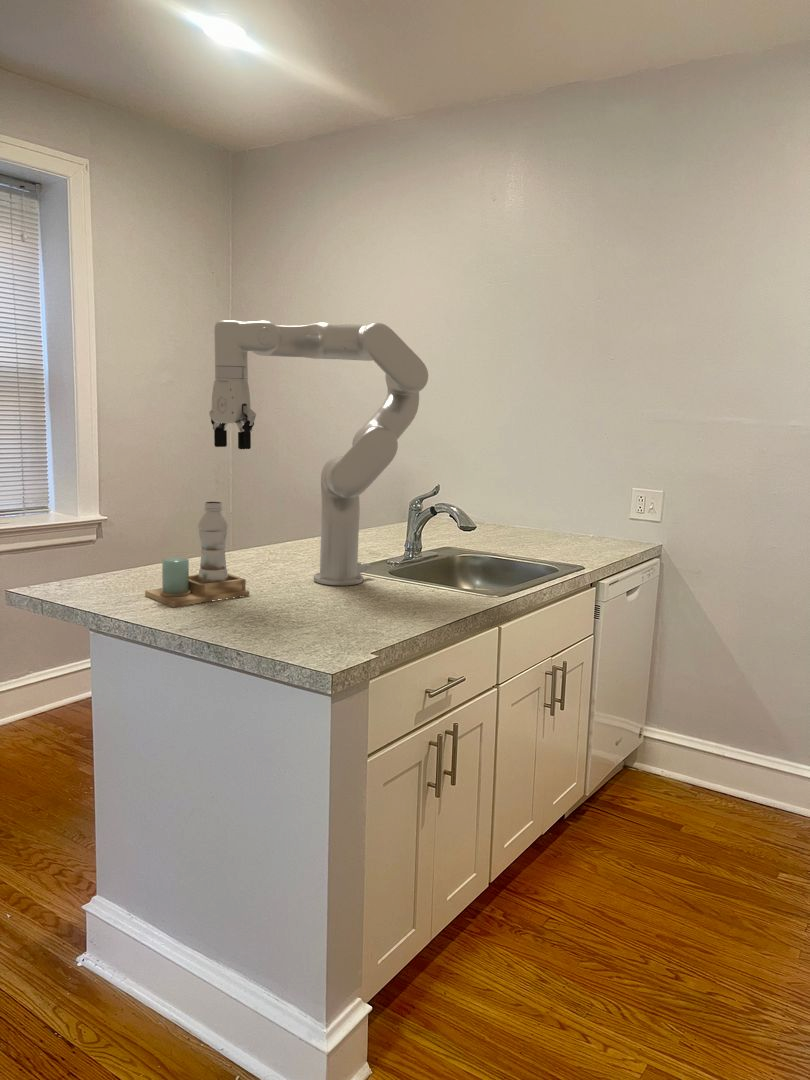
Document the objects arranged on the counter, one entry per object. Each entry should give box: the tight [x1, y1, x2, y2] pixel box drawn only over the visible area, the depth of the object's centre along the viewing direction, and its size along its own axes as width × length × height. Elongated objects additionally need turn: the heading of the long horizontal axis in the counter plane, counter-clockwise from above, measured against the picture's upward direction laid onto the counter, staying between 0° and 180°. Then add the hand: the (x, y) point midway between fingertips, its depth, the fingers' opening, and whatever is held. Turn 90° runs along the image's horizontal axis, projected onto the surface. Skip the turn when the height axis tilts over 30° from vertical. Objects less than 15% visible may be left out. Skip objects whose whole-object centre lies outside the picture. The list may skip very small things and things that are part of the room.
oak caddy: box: [144, 573, 250, 608], centre depth 181 cm, size 19×13×4 cm
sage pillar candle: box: [161, 557, 190, 594], centre depth 177 cm, size 6×6×7 cm
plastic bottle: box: [197, 501, 229, 584], centre depth 182 cm, size 6×7×20 cm
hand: (232, 447), depth 191 cm, fingers open, 9 cm apart
